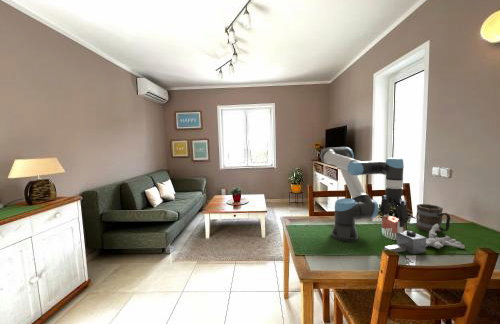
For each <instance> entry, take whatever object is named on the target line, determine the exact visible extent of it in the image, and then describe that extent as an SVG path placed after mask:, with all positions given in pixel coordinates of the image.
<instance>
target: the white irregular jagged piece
mask: <svg viewBox="0 0 500 324" xmlns="http://www.w3.org/2000/svg"><path fill="white" fill-rule="evenodd" d="M437 230H439V225H438V224H435V225H434V226H433V227H432V229H431V230H430V231H429V232H428V238H426V247H428V246H429V247H433V248H436V249H441V248H443V247H444V246H449V247H454V248H457V249H458V248H459V249H463V250H464V249H465V247H466V246H465V245H464V244H462V242H461V241H457V239H456V238H451V237H450V236H449V235H447V234H446V235H444V236H443V237H438V234H437V233H436V232H435V231H437Z"/></svg>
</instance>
